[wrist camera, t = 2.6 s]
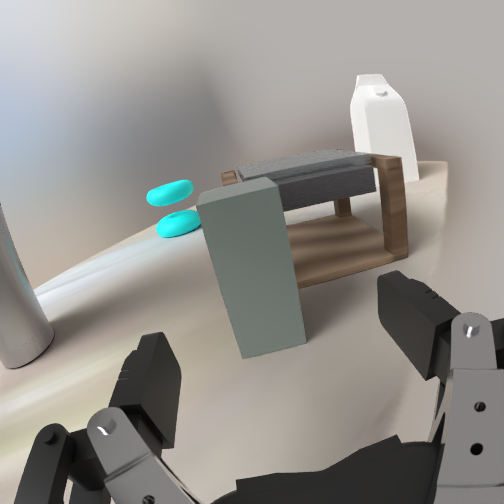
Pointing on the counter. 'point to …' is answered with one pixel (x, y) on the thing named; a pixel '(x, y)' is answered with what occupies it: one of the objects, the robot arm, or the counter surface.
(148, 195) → the donuts
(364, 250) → the frame
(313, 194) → the trapdoor
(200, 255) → the counter surface
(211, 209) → the soapstone block
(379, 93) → the milk
